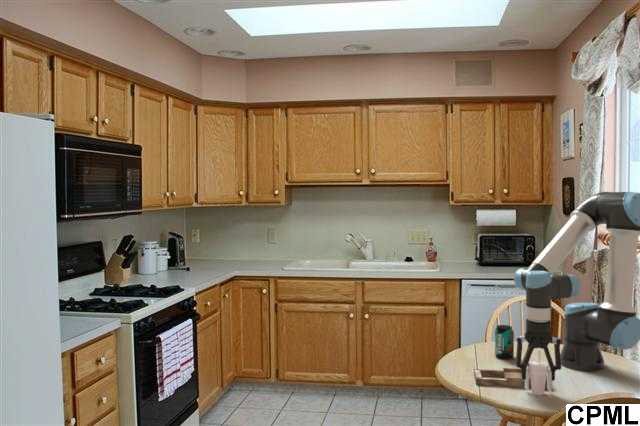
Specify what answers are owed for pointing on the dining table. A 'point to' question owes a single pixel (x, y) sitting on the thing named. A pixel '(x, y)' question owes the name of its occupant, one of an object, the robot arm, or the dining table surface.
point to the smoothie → (538, 376)
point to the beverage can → (504, 342)
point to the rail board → (510, 376)
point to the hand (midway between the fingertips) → (537, 389)
